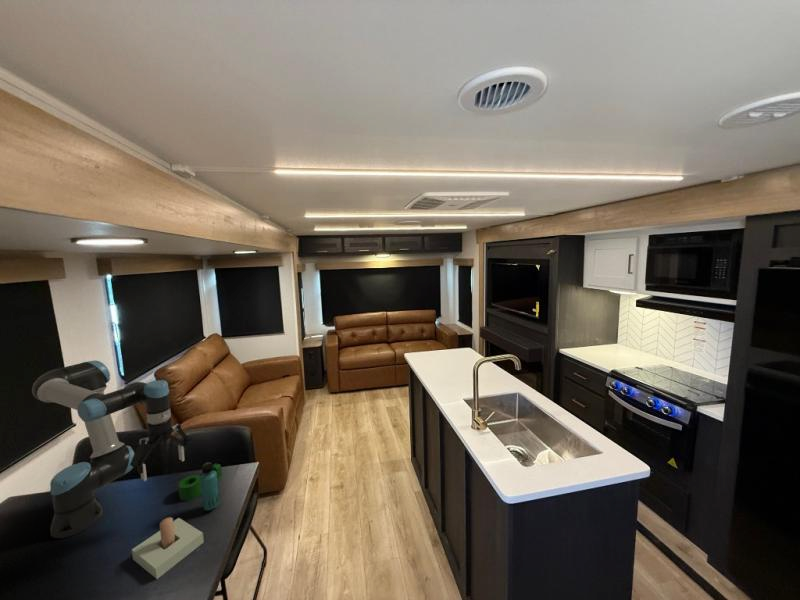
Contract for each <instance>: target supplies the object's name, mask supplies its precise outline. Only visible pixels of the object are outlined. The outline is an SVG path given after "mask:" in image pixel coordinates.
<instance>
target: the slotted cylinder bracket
mask: <svg viewBox="0 0 800 600" xmlns="http://www.w3.org/2000/svg"><path fill="white" fill-rule="evenodd" d="M206 464H212V462H209V461H207V462H206V463H204V464H202V466H201V472H202V470H203V466H204V465H206ZM213 468H214V469H213V471H216V472H217V480H219V479H220V478H221V477H222V476H223V475H222V466H221V464H219V463H217V462H216V463H214V464H213ZM202 474H203V472H202V473H201V475H200V474H192V475H188V476H186V477H185V478H182V479H181V480H180V481H179V482H178V493H179V499H180V501H191V500H194V499H195V498H198V497H199V496H200V495H202V490H201V480H200V477H201V476H202Z"/></svg>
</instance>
